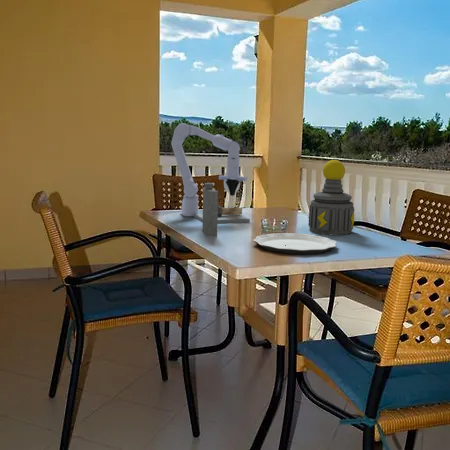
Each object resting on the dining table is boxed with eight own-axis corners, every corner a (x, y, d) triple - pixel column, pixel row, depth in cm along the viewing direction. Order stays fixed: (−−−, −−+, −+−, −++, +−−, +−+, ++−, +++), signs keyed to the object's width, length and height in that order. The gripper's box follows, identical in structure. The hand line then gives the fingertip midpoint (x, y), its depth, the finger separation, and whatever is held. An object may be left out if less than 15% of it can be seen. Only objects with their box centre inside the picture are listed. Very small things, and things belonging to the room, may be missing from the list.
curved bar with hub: (204, 216, 238) (204, 205, 237) (201, 214, 243) (201, 204, 242) (243, 215, 244) (243, 204, 243) (239, 213, 249) (239, 203, 248)
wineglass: (219, 212, 264) (220, 171, 260) (235, 211, 268) (236, 171, 264) (226, 215, 256) (228, 172, 253) (242, 214, 260) (243, 172, 256)
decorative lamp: (343, 237, 206) (348, 161, 201) (300, 231, 216) (304, 159, 211) (359, 230, 222) (364, 160, 216) (318, 225, 231) (321, 158, 226)
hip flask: (217, 236, 202) (219, 184, 198) (207, 236, 201) (208, 184, 197) (209, 228, 217) (210, 181, 213) (199, 229, 216) (200, 181, 212)
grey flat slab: (193, 216, 248) (193, 213, 248) (236, 215, 256) (236, 212, 255) (205, 223, 230) (205, 219, 230) (251, 222, 237) (251, 218, 237)
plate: (271, 258, 168) (271, 251, 168) (243, 240, 196) (243, 234, 195) (351, 254, 176) (352, 247, 176) (313, 238, 204) (314, 232, 204)
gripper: (215, 166, 248) (215, 194, 250) (242, 168, 241) (241, 197, 243) (223, 166, 254) (222, 193, 256) (249, 167, 247) (248, 196, 249)
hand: (232, 195), depth 250 cm, fingers closed
